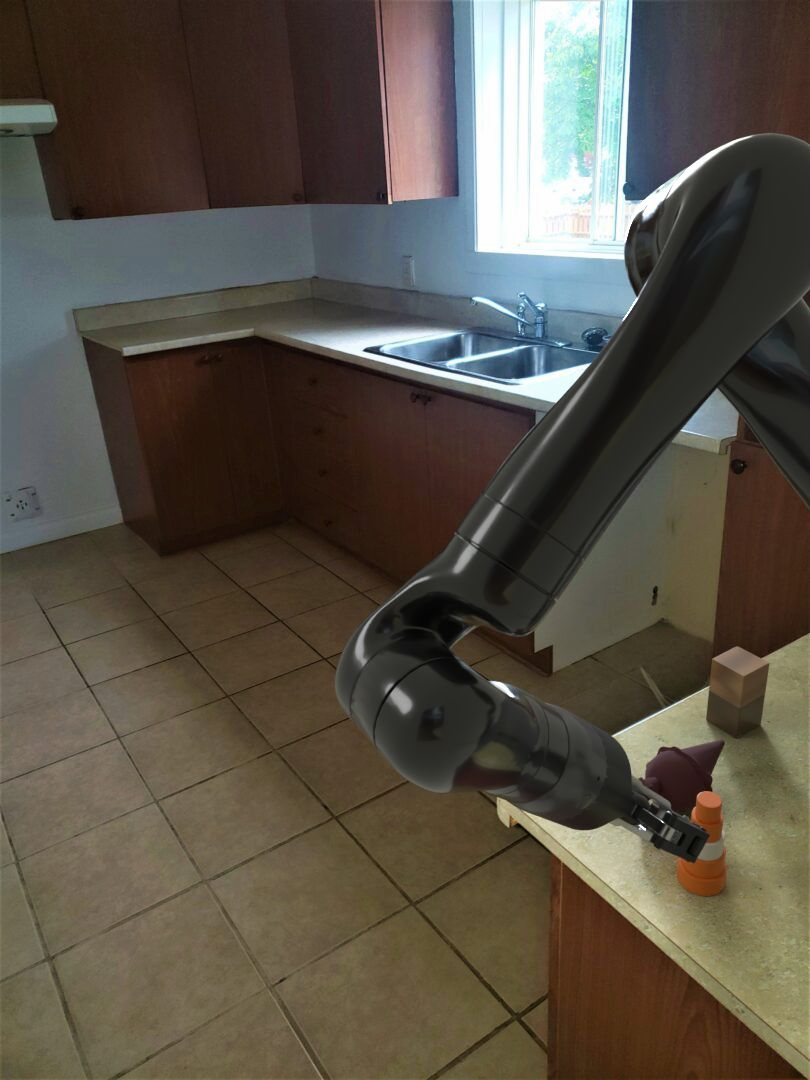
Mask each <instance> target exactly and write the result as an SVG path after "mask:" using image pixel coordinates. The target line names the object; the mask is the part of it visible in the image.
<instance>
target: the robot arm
mask: <svg viewBox="0 0 810 1080" xmlns="http://www.w3.org/2000/svg"><path fill="white" fill-rule="evenodd" d="M623 245H624V247H623V256H624V257H623V258H624V259H623V261H624V268H625V271H626V276H627V278H628V281H629V285H630V287H631V289H632V291H633V293H634V295H635V297H636V299H635V301H634V302H633V304H632V306H631V307H630V309H629V311H628V312H627V314H626V315H625V316H624V318H623V319H622V321H621V322H620V324H619V325H618V327H617V328H616V329H615V331H614V332H613V334H612V336H611V337H610V338H609V339H608V341H607V342H606V344H604V345H603V347H602V349H601V350H600V351H599V352H598V354H597V355H596V356H595V357H594V359H593V360H592V361H591V363H589V365H588V366H587V367H586V369H585V370H584V371H583V372H582V373H581V374H580V376H579V377H578V378H577V379H576V380H575V381H574V383H573V384H572V385H571V386H570V387H569V388H568V389H567V390H566V391H565V393H564V394H563V395H562V396H561V397H560V398H559V399H558V400H557V401H556V402H555V403H554V404H553V406H552V407H551V408H550V409H549V410H548V411H547V412H546V413H545V414H544V415H543V416H542V417H541V418H540V419H539V421H537V422H536V423H535V424H534V426H533V427H532V428H531V429H530V430H529V431H528V432H527V433H526V435H525V436H524V437H523V438H522V439H521V440H520V441H519V442H518V444H517V445H516V446H515V447H514V448H513V450H512V451H510V453H509V454H508V456H507V457H506V458H505V459H504V461H503V462H502V463H501V465H500V466H499V467H498V469H497V470H496V472H495V473H494V474H493V475H492V476H491V478H490V479H489V481H488V482H487V484H486V485H485V487H484V488H483V490H482V491H481V493H480V494H479V496H478V497H477V499H476V500H475V501H474V503H473V504H472V506H471V507H470V508H469V510H468V511H467V513H466V514H465V516H464V518H463V519H462V521H461V522H460V523H459V525H458V527H457V528H456V529H455V531H456V532H454V533H452V536H451V537H450V538H449V540H448V541H447V543H446V544H445V546H444V548H443V549H442V550H441V551H440V552H439V553H438V554H437V555H436V556H435V557H434V558H433V559H432V560H430V561H429V562H428V563H426V564H425V565H424V566H423V567H422V568H420V569H419V570H418V571H417V572H416V573H414V574H413V575H412V576H410V578H409V579H408V580H406V582H405V583H403V585H401V586H400V587H399V588H398V589H397V590H396V591H395V592H393V593H392V594H391V595H390V596H389V597H388V598H387V599H386V600H385V601H383V602H382V603H381V604H380V605H379V606H377V607H376V608H375V610H373V611H372V612H371V613H370V614H369V615H367V617H365V619H364V620H363V621H361V623H359V625H358V626H357V627H356V629H355V630H354V631H353V632H352V633H351V634H350V637H349V638H348V640H347V642H346V643H345V645H344V647H343V649H342V651H341V652H340V655H339V656H340V657H339V659H338V661H337V665H336V669H335V672H334V673H335V674H334V693H335V697H336V700H337V702H338V704H339V706H340V709H341V710H342V711H343V712H344V713H345V715H346V716H347V717H348V719H349V720H350V721H351V722H352V723H353V724H354V725H355V726H356V728H357V729H358V730H359V731H360V733H362V734H363V736H364V737H365V739H367V740H368V742H369V743H370V744H371V745H372V746H373V747H374V748H375V750H376V751H377V752H378V753H379V755H380V756H381V757H382V758H383V759H384V761H386V763H387V764H388V765H389V766H390V768H392V770H394V771H395V772H396V773H397V774H398V775H400V776H401V777H402V778H403V779H404V780H406V781H408V782H409V783H411V784H412V785H415V786H416V787H419V788H420V789H423V790H425V791H427V792H431V793H435V794H443V795H446V794H461V793H462V794H463V793H475V792H483V793H485V794H488V795H491V796H493V797H496V798H497V799H502V800H504V801H506V802H507V803H509V804H510V805H512V806H513V807H515V808H516V809H519V810H520V811H522V812H525V813H527V814H531V815H533V816H536V817H539V818H540V819H543V820H545V821H546V820H547V821H549V822H552V823H554V824H557V825H560V826H562V827H566V828H568V829H570V830H576V831H593V830H597V829H599V828H602V827H604V826H606V825H608V824H610V825H612V826H614V827H622V828H624V829H626V830H627V831H629V832H630V833H633V834H634V835H635V836H638V837H639V838H640V839H643V840H644V841H646V842H650V843H651V844H652V846H653V847H654V848H655V849H657V850H661V851H664V852H666V853H668V854H671V855H674V856H675V857H677V858H678V857H680V858H682V859H684V860H686V861H687V862H692V863H695V862H696V860H697V858H698V856H699V855H700V853H701V851H702V849H703V847H704V846H705V844H706V842H707V840H708V838H709V837H710V834H709V833H707V832H706V831H707V830H706V829H704V828H703V827H701V826H699V825H698V824H696V823H695V822H693V821H691V817H690V818H689V816H688V815H685V814H683V815H682V814H680V813H679V812H675V811H673V810H672V809H671V804H670V802H669V801H668V800H666V799H665V798H664V797H662V796H661V795H659V794H657V793H656V792H654V791H652V790H651V789H649V788H647V787H646V786H644V785H642V782H641V781H640V780H639V779H638V777H636V776H635V775H634V774H632V768H631V763H630V759H629V757H628V754H627V752H626V751H625V749H624V747H623V745H622V744H620V742H619V741H618V740H617V738H615V737H614V736H613V735H611V734H609V732H606V731H604V730H602V729H601V728H599V727H598V726H595V725H594V724H592V723H590V722H589V721H587V720H585V719H583V718H581V717H580V716H578V715H576V714H574V713H573V712H571V711H570V710H567V709H565V708H563V707H561V706H558V705H555V704H552V703H548V702H545V701H544V700H542V699H540V698H538V697H536V696H535V695H533V694H531V693H530V692H527V691H525V690H524V689H521V688H520V687H517V686H515V685H513V684H510V683H508V682H503V681H498V680H487V679H486V678H484V677H483V676H482V675H481V674H479V673H478V672H477V671H476V670H474V668H472V667H471V666H470V665H468V663H466V662H465V661H464V660H463V659H462V658H461V657H460V656H458V655H457V654H456V653H455V651H453V650H452V648H453V647H454V646H455V645H456V644H457V643H459V642H460V641H461V640H462V639H463V638H464V637H466V636H468V635H469V634H471V632H473V631H474V630H475V629H477V628H479V627H481V626H484V627H487V628H489V629H490V630H493V631H496V632H498V633H500V634H503V635H506V636H508V637H509V636H510V637H514V638H522V637H526V636H528V635H530V634H532V633H533V632H534V631H535V630H537V629H538V628H539V626H540V625H541V624H542V623H543V622H544V620H545V619H546V617H547V616H548V615H549V613H551V611H552V609H553V608H554V606H555V605H556V604H557V600H559V599H560V598H561V597H562V595H563V593H564V592H565V590H566V589H567V587H568V586H569V585H570V583H571V582H572V581H573V579H574V578H575V576H576V575H577V574H578V572H579V570H580V569H581V567H582V566H583V564H584V562H585V561H587V558H588V557H589V555H590V554H591V553H592V551H593V550H594V548H595V547H596V546H597V544H598V543H599V541H600V540H601V538H602V536H603V535H604V533H605V532H606V531H607V529H608V528H609V527H610V525H611V524H612V523H613V520H614V519H615V518H616V516H617V515H618V513H619V512H620V511H621V509H622V508H623V506H624V505H625V504H626V502H627V500H629V498H630V497H631V495H632V494H633V493H634V491H635V490H636V488H637V487H638V486H639V484H640V483H641V482H642V480H643V479H644V478H645V477H646V475H647V474H648V473H649V471H650V470H651V469H652V468H653V466H654V465H655V464H656V463H657V461H658V460H659V459H660V457H661V456H662V454H663V453H664V452H665V451H666V449H668V447H669V446H670V445H671V443H672V442H673V441H674V440H675V438H676V437H678V434H680V432H682V430H683V429H684V428H685V426H686V425H687V424H688V423H689V421H690V420H691V419H692V418H693V417H694V416H695V415H696V413H698V411H699V410H700V408H701V407H703V405H704V404H705V403H706V401H708V400H709V398H710V397H712V395H713V394H714V392H715V391H716V390H717V391H719V392H720V393H721V394H722V395H723V397H724V398H725V399H726V400H727V401H728V402H729V404H730V405H731V406H732V407H733V408H734V410H735V411H736V412H737V413H738V414H739V416H740V417H741V418H742V419H743V420H744V422H745V423H746V426H748V428H749V429H750V430H751V432H752V433H753V434H754V436H755V437H756V439H757V440H758V442H759V443H760V445H761V446H762V447H763V449H764V450H765V452H766V453H767V455H768V456H769V457H770V459H771V460H772V462H773V463H774V465H775V466H776V468H777V469H778V470H779V472H780V473H781V475H783V476H784V479H786V481H787V482H788V483H789V485H790V486H791V487H792V489H793V490H794V491H795V493H796V494H797V496H798V497H799V498H800V499H801V501H802V502H803V503H804V505H805V506H806V507H807V509H808V511H810V307H809V306H808V304H807V303H806V301H805V300H804V298H803V297H804V296H805V295H806V294H807V293H808V292H809V291H810V144H809V143H808V142H806V141H805V140H802V139H800V138H798V137H795V136H792V135H789V134H783V133H775V132H767V133H757V134H756V133H755V134H751V135H747V136H743V137H740V138H737V139H733V140H731V141H729V142H726V143H724V144H722V145H721V146H718V147H716V148H714V149H713V150H710V151H708V152H707V153H705V154H704V155H702V156H701V157H699V158H698V159H697V160H695V161H693V162H692V163H691V164H689V166H686V168H684V169H683V170H681V171H680V172H679V173H677V174H676V175H674V176H673V177H671V178H670V179H669V180H667V181H666V182H664V183H663V184H662V185H660V186H659V187H658V188H656V189H654V191H652V192H651V193H650V194H649V195H648V196H646V197H645V199H644V200H643V201H642V202H640V204H639V205H638V207H637V208H636V210H635V211H634V213H633V214H632V216H631V219H630V220H629V223H628V226H627V229H626V233H625V237H624V243H623ZM642 793H643V794H644V795H646V796H648V797H649V798H651V800H652V803H653V804H652V803H650V800H649V801H648V800H647V799H646V798H645V797H644V795H643V794H642ZM651 804H652V806H651V808H650V805H651ZM649 809H650V810H649Z"/></svg>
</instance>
